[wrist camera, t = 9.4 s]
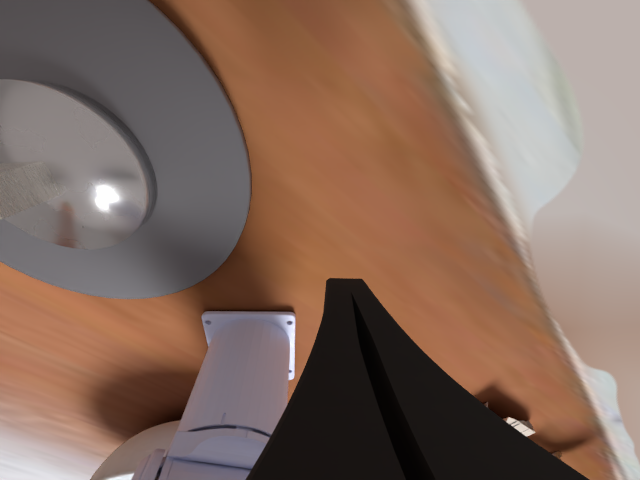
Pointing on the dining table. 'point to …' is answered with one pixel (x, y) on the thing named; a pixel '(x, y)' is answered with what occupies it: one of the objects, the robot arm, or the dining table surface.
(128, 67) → the dial plate
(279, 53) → the dining table surface
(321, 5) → the dining table surface
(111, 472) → the serving bowl
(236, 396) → the robot arm
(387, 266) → the dining table surface
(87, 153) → the grey bar on dome
